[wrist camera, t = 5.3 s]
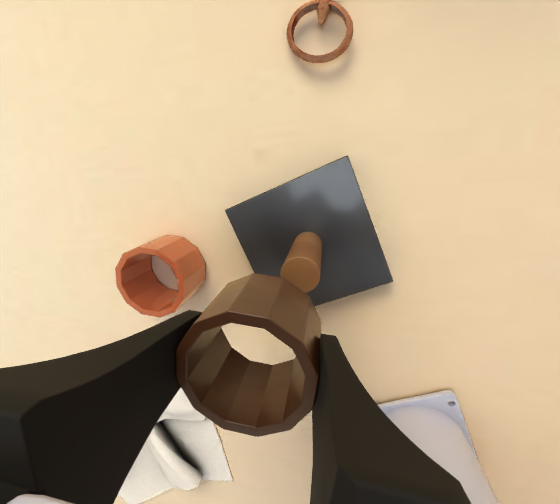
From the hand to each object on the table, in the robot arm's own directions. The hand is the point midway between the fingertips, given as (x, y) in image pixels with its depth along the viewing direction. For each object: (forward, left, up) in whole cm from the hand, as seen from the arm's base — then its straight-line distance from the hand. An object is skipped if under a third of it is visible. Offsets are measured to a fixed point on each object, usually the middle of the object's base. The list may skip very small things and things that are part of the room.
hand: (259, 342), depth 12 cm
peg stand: (+1, -2, -10) cm, 10 cm away
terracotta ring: (+3, +9, -10) cm, 14 cm away
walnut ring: (0, 0, -1) cm, 1 cm away
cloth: (-12, +23, -10) cm, 28 cm away
